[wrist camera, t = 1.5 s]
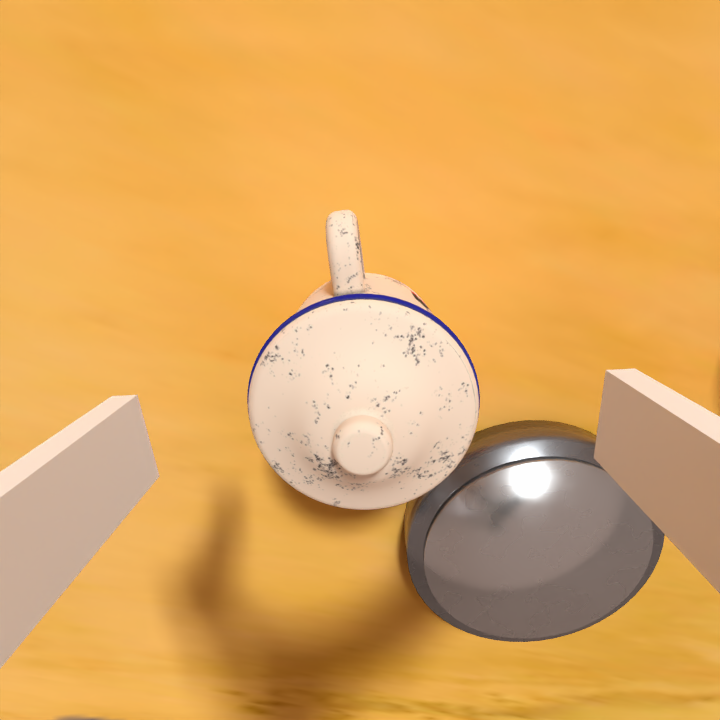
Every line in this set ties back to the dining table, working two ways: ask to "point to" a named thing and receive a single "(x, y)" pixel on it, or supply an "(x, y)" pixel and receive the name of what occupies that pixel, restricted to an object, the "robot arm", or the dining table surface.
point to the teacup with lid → (362, 388)
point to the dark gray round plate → (528, 536)
